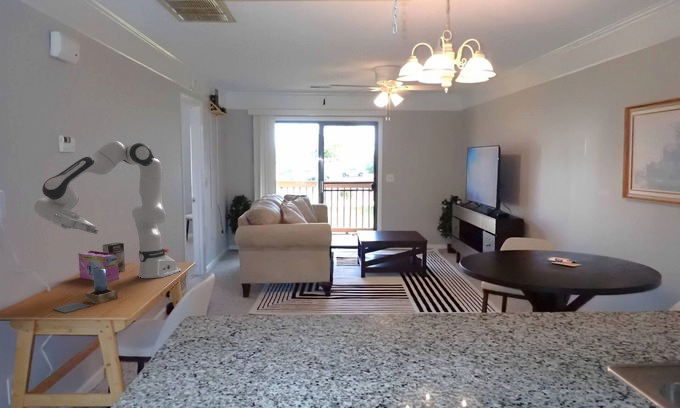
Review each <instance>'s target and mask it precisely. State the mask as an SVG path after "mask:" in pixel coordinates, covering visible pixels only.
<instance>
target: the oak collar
mask: <svg viewBox="0 0 680 408" xmlns="http://www.w3.org/2000/svg"><path fill="white" fill-rule="evenodd" d="M107 291H108V293H104V294H100V295H95V290H93V291H89V292H84V299H85V301H86V302H89V303H90V304H91V303H92V304H94V305H100V304H102V303H106V302H110V301H113V300H117V299H118V298H119V297H118V290H117V289H116V290H115V289H111V288H108V287H107Z"/></svg>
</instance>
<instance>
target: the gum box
mask: <svg viewBox="0 0 680 408" xmlns="http://www.w3.org/2000/svg"><path fill="white" fill-rule="evenodd" d="M77 255H78V269H79V278H80V279H86V280H90V281H94V274H93V270H94V269H97V268H106V277H107V283H109V282H112V281H113V280H114V281H116V279H117V280H119V279H120V276H119V275H120V272H119V271H118V254H112V253H105V252H103V251H96V250H88V251H87V252H82V253H80V252H79V253H78V254H77ZM114 281H113V282H114Z"/></svg>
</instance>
